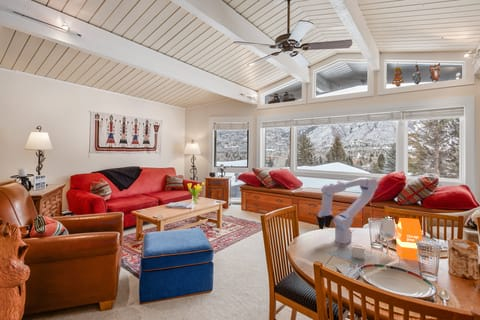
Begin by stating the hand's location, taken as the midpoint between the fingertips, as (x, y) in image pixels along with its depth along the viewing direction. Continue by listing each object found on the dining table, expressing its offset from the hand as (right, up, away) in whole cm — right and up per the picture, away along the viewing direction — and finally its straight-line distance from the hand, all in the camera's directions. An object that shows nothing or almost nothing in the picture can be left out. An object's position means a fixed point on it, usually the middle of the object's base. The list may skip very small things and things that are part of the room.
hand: (323, 227), depth 141 cm
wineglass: (+27, -10, -17) cm, 34 cm away
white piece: (+11, -9, -20) cm, 24 cm away
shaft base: (+7, -10, -18) cm, 22 cm away
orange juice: (+38, -10, -17) cm, 43 cm away
